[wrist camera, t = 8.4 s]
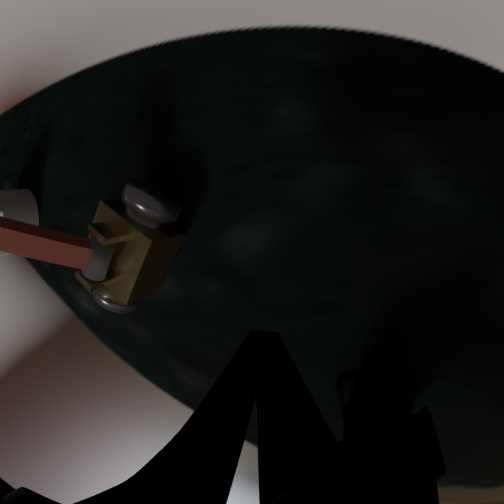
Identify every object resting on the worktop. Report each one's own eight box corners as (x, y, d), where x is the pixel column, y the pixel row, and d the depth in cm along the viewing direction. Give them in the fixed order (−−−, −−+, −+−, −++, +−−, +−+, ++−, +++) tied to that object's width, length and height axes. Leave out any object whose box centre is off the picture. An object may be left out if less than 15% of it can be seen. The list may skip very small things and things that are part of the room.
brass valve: (198, 210, 23) (141, 216, 16) (152, 305, 26) (99, 335, 19) (148, 177, 24) (86, 173, 16) (111, 269, 27) (56, 288, 19)
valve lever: (118, 253, 18) (-41, 214, 9) (107, 287, 19) (-42, 254, 10) (114, 232, 20) (-27, 195, 12) (103, 263, 21) (-30, 231, 12)
